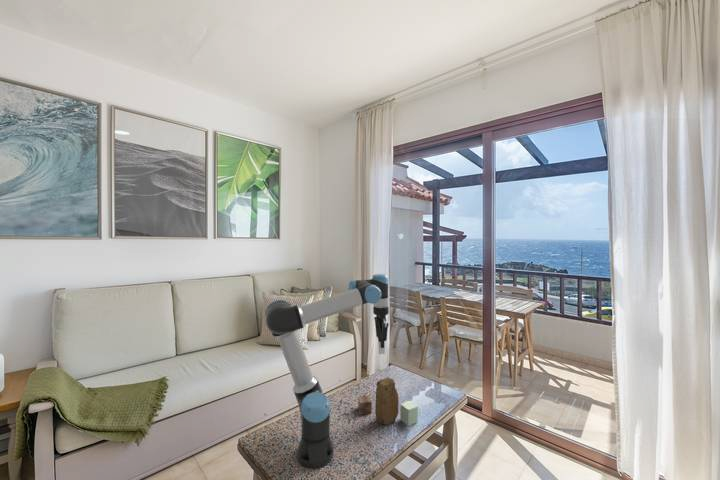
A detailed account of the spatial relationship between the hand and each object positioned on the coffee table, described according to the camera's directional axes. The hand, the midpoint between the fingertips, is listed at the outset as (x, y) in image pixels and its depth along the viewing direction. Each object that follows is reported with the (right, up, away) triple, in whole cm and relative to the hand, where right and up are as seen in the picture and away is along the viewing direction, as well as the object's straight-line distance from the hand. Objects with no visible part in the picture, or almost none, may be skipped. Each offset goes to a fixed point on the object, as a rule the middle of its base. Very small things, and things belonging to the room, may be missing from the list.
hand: (381, 353), depth 149 cm
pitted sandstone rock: (+3, -34, +1) cm, 34 cm away
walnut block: (-8, -34, +9) cm, 36 cm away
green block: (+14, -34, +1) cm, 36 cm away
